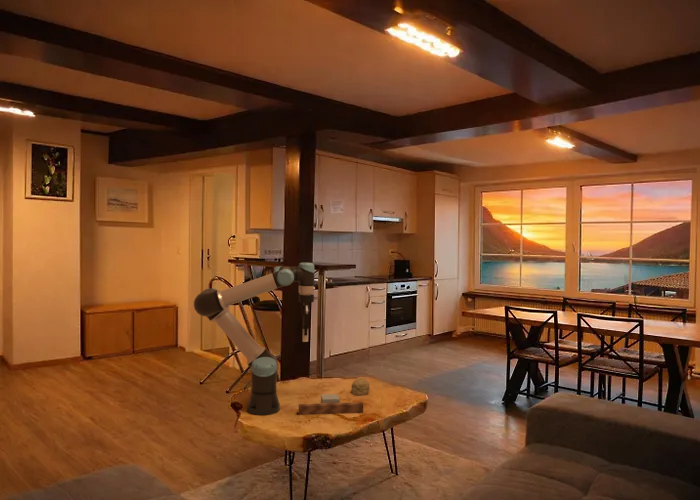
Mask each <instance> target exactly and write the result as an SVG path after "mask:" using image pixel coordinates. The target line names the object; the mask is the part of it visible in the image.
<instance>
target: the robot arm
mask: <svg viewBox="0 0 700 500" xmlns="http://www.w3.org/2000/svg"><path fill="white" fill-rule="evenodd" d="M315 273H316V272H315V264H314V263H312V262H300V263H299V264H298V266H283V265H280V266H275V267H274V272H272V273H268V274H266V275H263V276H260V277H257V278H254V279H251V280H249V281H246V282H243V283H240V284H237V285H234V286H232V287H229V288H225V289H223V290H220V289H217V288H216V289H215V288H206V289H204V290H202V291H201V292H200V293H198V295H196V297H195V298H194V301H193V307H194V310H195V312H196V313H197V314H198V315H200V316H202V317H206V318H207V319H208V320H209V322H215V323H216V325H217V326H218V328H220V330H222V332H224V334H225V335H226V337H228V339H229V340H230V341H231V342H232V343H233V344H234V346H235V347H236V348H237V349H238V350H239V352H241V354H242V355H243V356H244V357H245V358H246V364H247V366H248V367H249V368H250V370H251V381H250V385H251V386H250V387H251V388H250V389H251V391H250V396H249V398H248V403H247V405H246V411H247V412H248V413H249V414H252V415H255V416H256V415H258V416H265V415H266V416H269V415H273V414H276V413H278V412H279V411H280V409H281V406H280V401H279V397H278V393H277V379H278V378H277V376H278V370H279V362H278V359H277V357H276V356H275V355H274V354H273V353H271V352H270V351H269V349H267V347H265V346H264V347H262V346H260V345H259V343H258V342H257V341H256V340H255V339H254V337H252V336H251V334H250V333H249V331H248V330H247V329H246V328H245V327H244V326H243V325H242V323H241V322H240V321H239V320H238V319H237V318H236V317H235V315H234V314H233V313H232V311H230V306H232V305H234V304H237V303H240V302H243V301H245V300H249V299H251V298H254V297H257V296H260V295H263V294H265V293H268V292H271V291H274V290H277V289H279V288H284V287H287V286H290V285H291V284H293V283H298V303H301V304H302V305H301V313H302V324H301V325H302V327H301V329H302V342H303V343H305V342H306V343H307V342H309V328H310V314H311V305H310V304H311V303H314V300H315V295H314V294H315V290H316V287H315Z"/></svg>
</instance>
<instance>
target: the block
mask: <svg viewBox="0 0 700 500" xmlns="http://www.w3.org/2000/svg"><path fill="white" fill-rule="evenodd" d="M340 399H341V398H340V397H339V395H338V393H335V394H334V393H333V394H332V393H331V394H320V403H341V401H340Z"/></svg>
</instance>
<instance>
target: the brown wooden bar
mask: <svg viewBox="0 0 700 500" xmlns="http://www.w3.org/2000/svg"><path fill="white" fill-rule="evenodd" d="M297 412H298V415H299V416H304V415H307V416H308V415H309V416H310V415H312V416H313V415H332V414H333V415H334V414H361V413H362V414H363V413H364V402H362V401H358V402H356V401H355V402H340V403H321V402H320V403H298V411H297Z"/></svg>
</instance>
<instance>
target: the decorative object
mask: <svg viewBox="0 0 700 500" xmlns="http://www.w3.org/2000/svg"><path fill="white" fill-rule="evenodd" d="M369 392H370V382H369V381H368V379H366V378H364V377H358V378H356V379H354V380H353V382H352V383H351V391H350V393H351V394H352V395H355V396H358V397H359V396H360V397H362V396H366V395H367V396H368V395H369Z"/></svg>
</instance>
